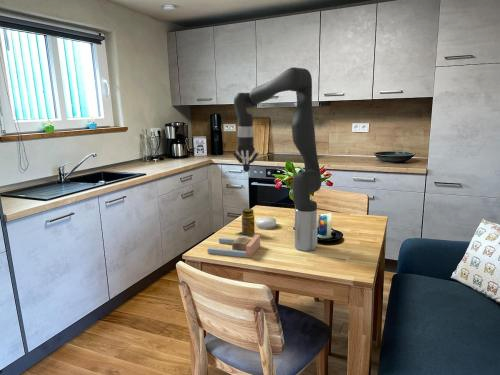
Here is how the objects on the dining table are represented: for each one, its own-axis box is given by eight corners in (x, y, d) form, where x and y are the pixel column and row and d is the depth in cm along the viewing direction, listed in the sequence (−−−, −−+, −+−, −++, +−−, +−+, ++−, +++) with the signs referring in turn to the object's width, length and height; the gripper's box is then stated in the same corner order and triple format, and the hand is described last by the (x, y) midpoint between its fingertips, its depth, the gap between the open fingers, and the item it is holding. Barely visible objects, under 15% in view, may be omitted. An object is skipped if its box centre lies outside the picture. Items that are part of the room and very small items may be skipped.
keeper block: (251, 247, 163) (251, 238, 162) (245, 253, 157) (245, 244, 156) (239, 245, 165) (238, 237, 164) (232, 251, 159) (232, 242, 158)
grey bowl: (277, 224, 194) (277, 217, 193) (273, 230, 185) (273, 223, 184) (259, 222, 197) (259, 216, 196) (254, 228, 188) (254, 222, 187)
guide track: (260, 245, 164) (260, 234, 163) (250, 257, 151) (250, 246, 150) (220, 241, 170) (219, 231, 169) (207, 253, 157) (207, 242, 156)
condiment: (258, 234, 179) (257, 210, 176) (243, 238, 174) (242, 213, 172) (249, 230, 185) (249, 207, 182) (235, 233, 180) (234, 210, 178)
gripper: (261, 135, 179) (261, 170, 183) (235, 135, 183) (236, 170, 187) (256, 136, 172) (257, 173, 176) (229, 136, 176) (231, 172, 180)
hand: (246, 171), depth 181 cm, fingers closed
